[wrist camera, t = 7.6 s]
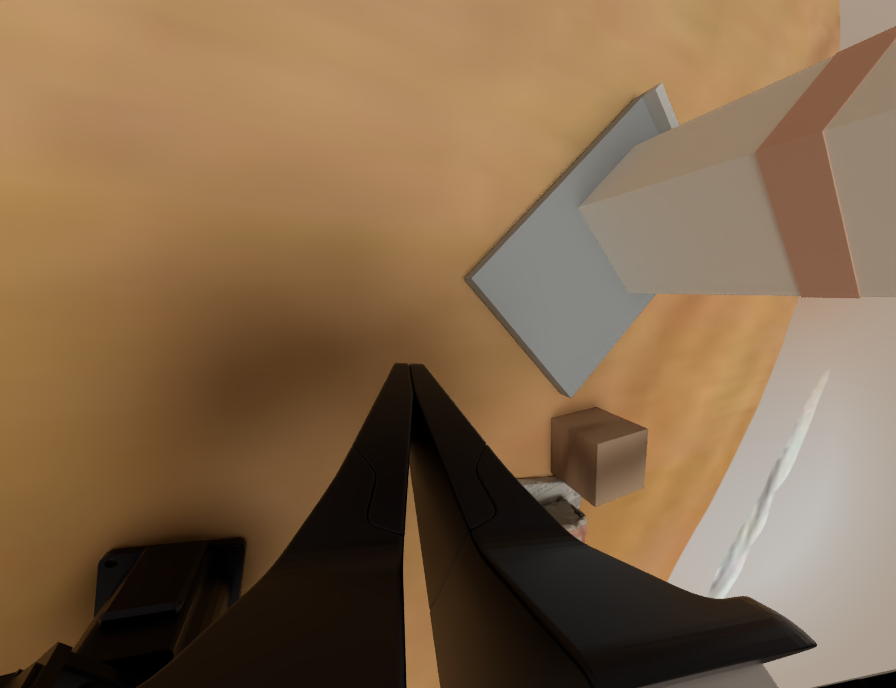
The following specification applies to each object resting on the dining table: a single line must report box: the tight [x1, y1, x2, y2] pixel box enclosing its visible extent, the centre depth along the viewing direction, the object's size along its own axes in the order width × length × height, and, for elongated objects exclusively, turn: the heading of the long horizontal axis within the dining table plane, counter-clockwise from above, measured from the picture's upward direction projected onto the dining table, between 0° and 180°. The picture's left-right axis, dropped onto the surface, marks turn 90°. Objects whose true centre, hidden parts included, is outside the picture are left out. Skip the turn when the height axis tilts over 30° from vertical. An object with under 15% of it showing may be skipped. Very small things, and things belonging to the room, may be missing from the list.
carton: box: [578, 26, 896, 298], centre depth 19 cm, size 7×9×14 cm
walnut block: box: [551, 407, 648, 507], centre depth 26 cm, size 5×5×5 cm
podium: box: [464, 82, 679, 398], centre depth 25 cm, size 20×13×2 cm, turn 134°
